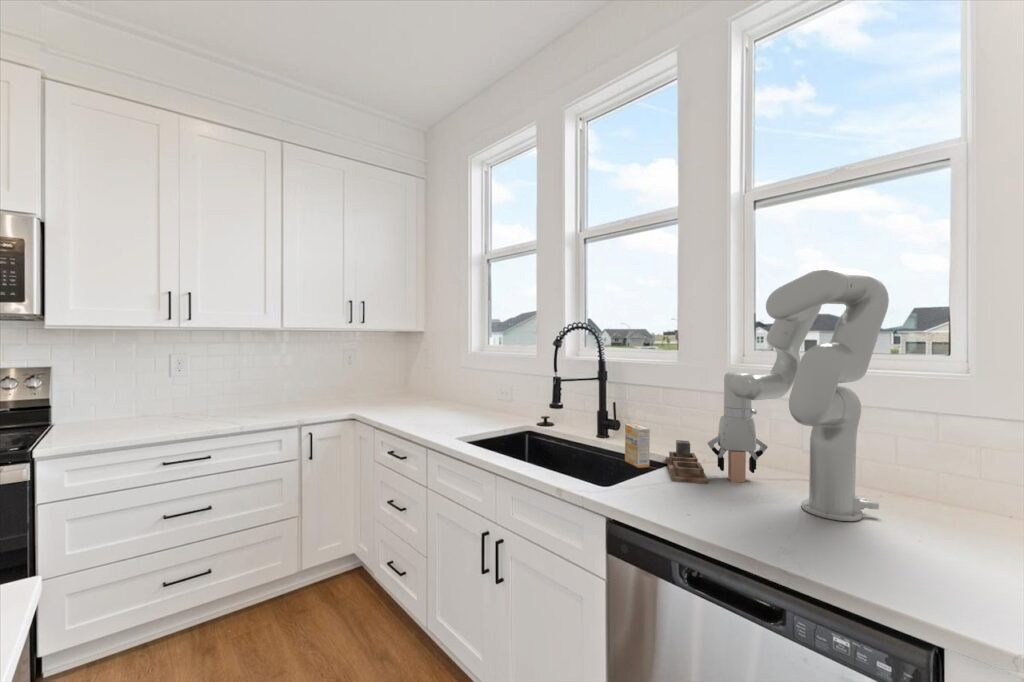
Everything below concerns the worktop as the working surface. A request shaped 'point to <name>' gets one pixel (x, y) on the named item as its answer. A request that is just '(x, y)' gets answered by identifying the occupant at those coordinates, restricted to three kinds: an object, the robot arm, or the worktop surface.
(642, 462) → the supplement box
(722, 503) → the worktop surface
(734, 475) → the terracotta plug
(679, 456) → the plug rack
